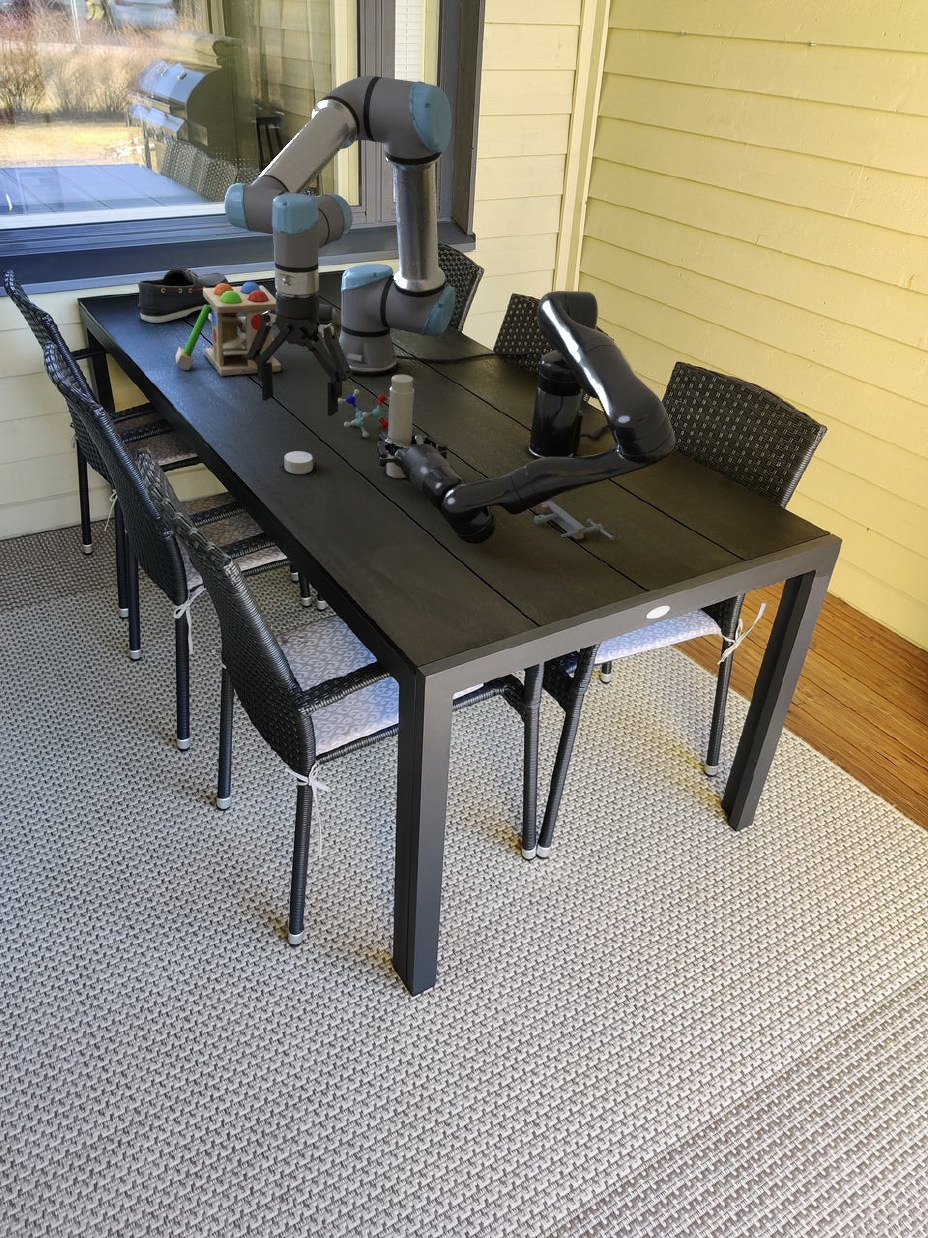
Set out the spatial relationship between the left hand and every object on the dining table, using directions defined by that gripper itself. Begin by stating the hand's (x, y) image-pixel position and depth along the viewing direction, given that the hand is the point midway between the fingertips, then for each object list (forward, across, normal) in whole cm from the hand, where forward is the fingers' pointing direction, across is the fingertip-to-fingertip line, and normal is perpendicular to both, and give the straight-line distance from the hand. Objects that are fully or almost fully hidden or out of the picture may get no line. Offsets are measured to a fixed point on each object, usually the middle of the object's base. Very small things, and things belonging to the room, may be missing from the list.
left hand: (300, 405), depth 183 cm
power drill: (+15, -44, +84) cm, 96 cm away
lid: (+10, 0, -1) cm, 10 cm away
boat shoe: (+14, -72, +69) cm, 101 cm away
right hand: (+6, +16, +9) cm, 19 cm away
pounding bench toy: (+14, -41, +38) cm, 57 cm away
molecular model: (+13, +3, +22) cm, 26 cm away
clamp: (+12, +54, +1) cm, 55 cm away
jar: (+13, +18, +7) cm, 23 cm away
